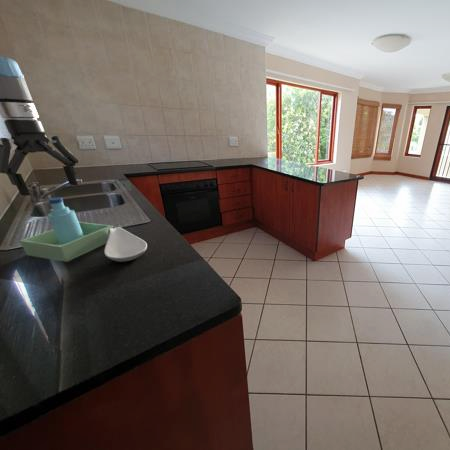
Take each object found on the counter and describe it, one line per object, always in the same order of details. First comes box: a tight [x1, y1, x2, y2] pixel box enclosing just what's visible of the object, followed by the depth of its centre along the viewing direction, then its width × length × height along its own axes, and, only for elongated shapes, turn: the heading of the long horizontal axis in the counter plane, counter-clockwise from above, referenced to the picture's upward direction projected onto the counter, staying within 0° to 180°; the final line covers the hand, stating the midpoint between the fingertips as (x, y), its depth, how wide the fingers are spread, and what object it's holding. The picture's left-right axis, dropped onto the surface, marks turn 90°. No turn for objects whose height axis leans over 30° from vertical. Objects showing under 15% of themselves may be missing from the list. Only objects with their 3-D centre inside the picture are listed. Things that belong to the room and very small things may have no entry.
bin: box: [19, 221, 114, 263], centre depth 86 cm, size 18×18×6 cm
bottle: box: [46, 196, 84, 245], centre depth 83 cm, size 7×7×18 cm
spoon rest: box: [104, 226, 148, 263], centre depth 83 cm, size 24×12×7 cm, turn 48°
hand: (51, 189), depth 78 cm, fingers open, 13 cm apart
